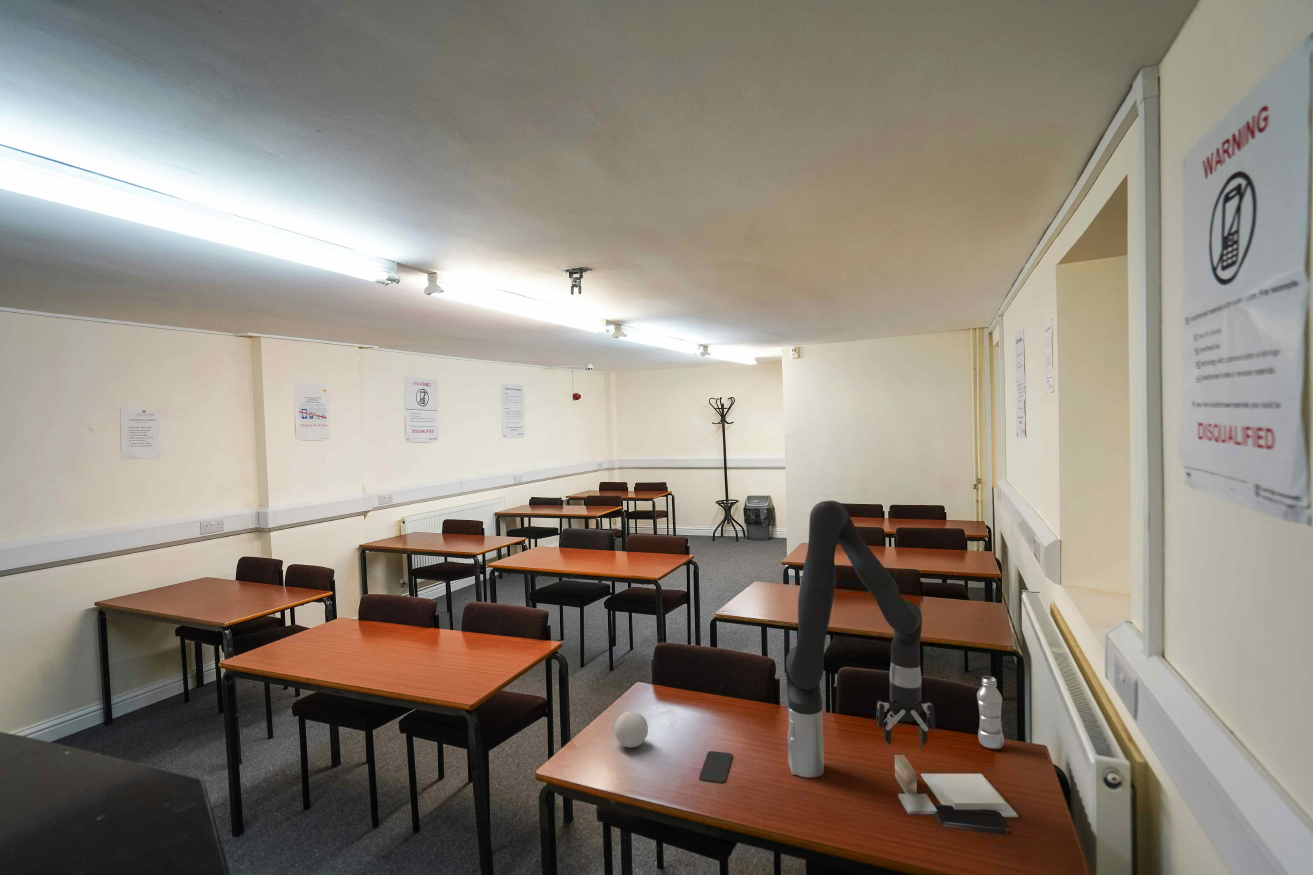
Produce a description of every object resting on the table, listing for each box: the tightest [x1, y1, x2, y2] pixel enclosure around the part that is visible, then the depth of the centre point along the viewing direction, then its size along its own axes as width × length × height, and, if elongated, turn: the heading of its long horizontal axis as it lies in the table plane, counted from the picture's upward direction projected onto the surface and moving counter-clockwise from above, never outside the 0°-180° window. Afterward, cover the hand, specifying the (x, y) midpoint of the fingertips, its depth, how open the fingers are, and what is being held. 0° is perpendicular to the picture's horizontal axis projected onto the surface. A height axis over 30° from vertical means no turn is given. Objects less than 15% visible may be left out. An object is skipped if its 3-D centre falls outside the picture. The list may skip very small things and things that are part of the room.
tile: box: [934, 775, 1005, 810], centre depth 153 cm, size 12×2×12 cm
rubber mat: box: [920, 773, 1019, 818], centre depth 154 cm, size 16×18×1 cm
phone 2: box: [933, 803, 1010, 835], centre depth 144 cm, size 8×1×15 cm
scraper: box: [894, 754, 938, 815], centre depth 155 cm, size 7×16×6 cm, turn 177°
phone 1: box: [698, 750, 734, 784], centre depth 170 cm, size 7×1×15 cm
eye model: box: [614, 710, 649, 749], centre depth 183 cm, size 10×10×10 cm
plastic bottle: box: [976, 675, 1005, 750], centre depth 177 cm, size 6×7×20 cm
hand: (905, 742), depth 157 cm, fingers open, 8 cm apart
